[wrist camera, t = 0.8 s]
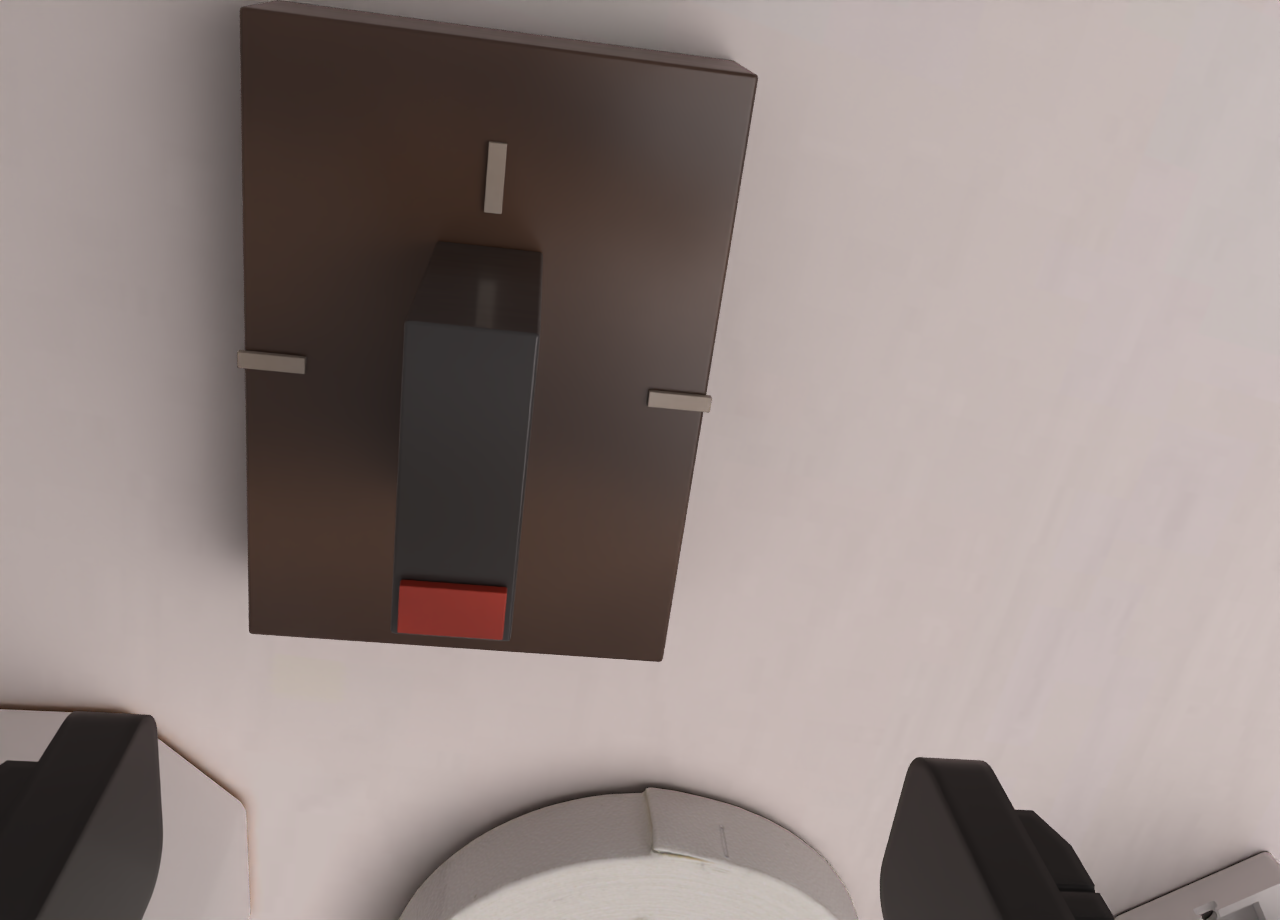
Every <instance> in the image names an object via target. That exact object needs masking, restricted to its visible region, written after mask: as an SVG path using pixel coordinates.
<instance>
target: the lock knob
mask: <svg viewBox="0 0 1280 920" xmlns="http://www.w3.org/2000/svg"><path fill="white" fill-rule="evenodd" d="M542 274H543V254H542V253H540V252H533V251H524V250H515V249H506V248H496V247H487V246H478V245H469V244H460V243H451V242H442V241H439V242H437V243H436V246H435V248H434V251H433V253H432V256H431V258H430V261H429V263H428V266H427V268H426V271H425V273H424V276H423V278H422V281H421V283H420V286H419V288H418V291H417V293H416V296H415V298H414V301H413V303H412V306H411V308H410V311H409V313H408V316H407V318H406V321H405V323H404V341H403V363H402V385H401V407H400V429H399V451H398V473H397V495H396V517H395V539H394V561H393V583H392V605H391V627H390V630H391V632H392V633H395V634H409V635H423V636H438V637H452V638H467V639H481V640H495V641H509V640H510V639H511V632H512V622H513V612H514V601H515V591H516V581H517V571H518V560H519V550H520V540H521V530H522V519H523V509H524V499H525V488H526V478H527V468H528V458H529V447H530V437H531V427H532V417H533V406H534V396H535V386H536V376H537V365H538V355H539V345H540V330H541V302H542Z"/></svg>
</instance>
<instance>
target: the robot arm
mask: <svg viewBox="0 0 1280 920" xmlns="http://www.w3.org/2000/svg"><path fill="white" fill-rule="evenodd" d="M162 846H163V820H162V802H161V785H160V768H159V751H158V734H157V727H156V722H155V720H154V718H153V717H152V716H151V715H141V714H121V713H102V712H83V711H74V712H72V713H70V714H69V715H68V716H67V717H66V719H65V720H64V721H63V723H62V725H61V726H60V728H59V729H58V731H57V732H56V734H55V736H54V737H53V739H52V740H51V742H50V743H49V745H48V747H47V748H46V750H45V751H44V753H43V755H42V756H41V758H40V759H39V761H38V762H34V761H13V760H6V761H5V762H4V763H2V764H1V765H0V920H142V918H143V916H144V913H145V911H146V909H147V906H148V904H149V902H150V899H151V896H152V894H153V891H154V888H155V884H156V881H157V877H158V872H159V868H160V862H161V855H162ZM1094 886H1095V885H1094V883H1093V882H1092V880H1091V878H1090V876H1089V875H1088V873H1087V871H1086V870H1085V868H1084V866H1083V865H1082V863H1081V861H1080V860H1079V858H1078V856H1077V855H1076V853H1075V851H1074V850H1073V848H1072V846H1071V845H1070V844H1069V843H1068V842H1067V841H1066V840H1064V839H1063V838H1062V837H1061V836H1060V835H1059V834H1058V833H1057V832H1056V831H1055V830H1054V829H1052V828H1051V827H1050V826H1049V825H1048V824H1047V823H1046V822H1045V821H1044V820H1043V819H1041V818H1040V817H1039V816H1038V815H1037V814H1036V813H1035V812H1034V811H1031V810H1015V809H1014V808H1013V806H1012V804H1011V802H1010V800H1009V799H1008V797H1007V795H1006V793H1005V791H1004V790H1003V788H1002V786H1001V784H1000V782H999V780H998V779H997V777H996V775H995V773H994V771H993V770H992V768H991V767H990V766H989V765H988V764H987V763H986V762H984V761H980V760H961V759H942V758H923V757H918V758H915V759H914V760H913V761H912V763H911V764H910V766H909V768H908V771H907V774H906V777H905V781H904V784H903V788H902V792H901V795H900V799H899V803H898V806H897V810H896V814H895V817H894V821H893V825H892V828H891V832H890V836H889V839H888V843H887V847H886V850H885V854H884V858H883V862H882V867H881V874H880V899H881V908H882V914H883V918H884V920H1114V917H1113V915H1112V913H1111V912H1110V910H1109V908H1108V907H1107V905H1106V903H1105V902H1104V900H1103V898H1102V897H1101V895H1100V893H1095V890H1094Z"/></svg>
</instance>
